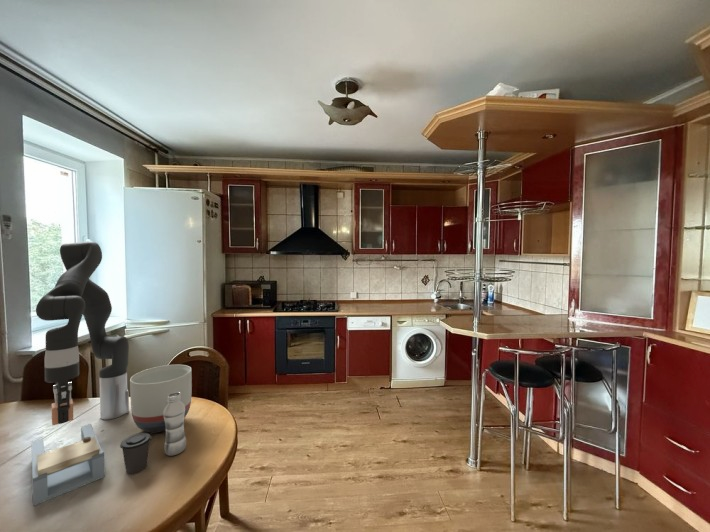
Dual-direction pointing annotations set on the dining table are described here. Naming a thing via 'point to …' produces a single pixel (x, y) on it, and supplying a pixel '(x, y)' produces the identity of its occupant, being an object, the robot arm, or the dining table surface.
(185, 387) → the planter
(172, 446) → the plastic bottle
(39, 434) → the dining table surface
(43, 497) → the stand
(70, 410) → the block
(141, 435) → the coffee cup
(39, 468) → the lid
